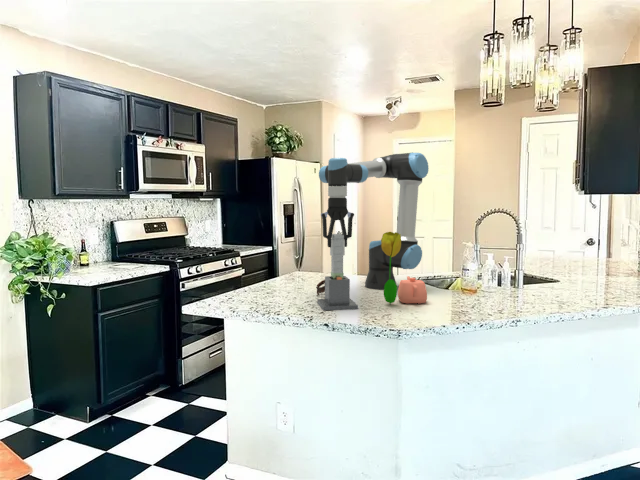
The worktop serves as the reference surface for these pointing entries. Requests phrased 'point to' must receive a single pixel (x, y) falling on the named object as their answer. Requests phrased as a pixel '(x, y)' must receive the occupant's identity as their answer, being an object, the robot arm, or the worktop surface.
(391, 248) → the flower
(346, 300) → the stand base
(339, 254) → the column
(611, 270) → the worktop surface
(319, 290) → the pottery mug
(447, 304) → the worktop surface
